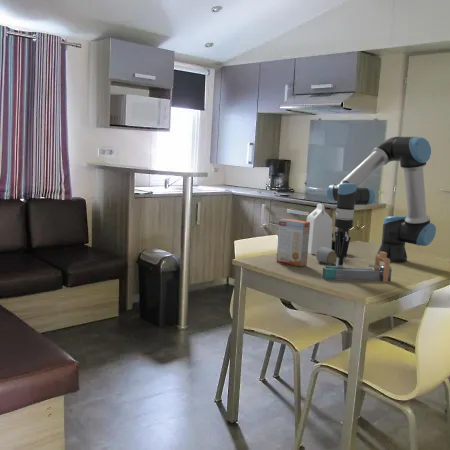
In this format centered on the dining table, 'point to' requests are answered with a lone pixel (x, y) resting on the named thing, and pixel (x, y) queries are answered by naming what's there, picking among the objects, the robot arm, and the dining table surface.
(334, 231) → the character mug
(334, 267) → the block
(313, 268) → the dining table surface
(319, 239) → the milk
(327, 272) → the ball-hinged grey bar
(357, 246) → the dining table surface
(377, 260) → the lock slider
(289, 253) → the cracker box
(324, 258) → the ceramic mug
